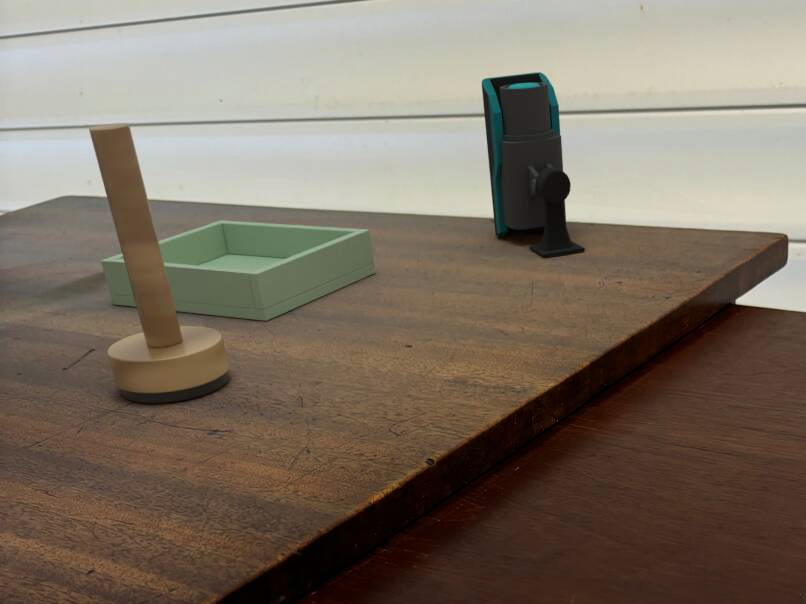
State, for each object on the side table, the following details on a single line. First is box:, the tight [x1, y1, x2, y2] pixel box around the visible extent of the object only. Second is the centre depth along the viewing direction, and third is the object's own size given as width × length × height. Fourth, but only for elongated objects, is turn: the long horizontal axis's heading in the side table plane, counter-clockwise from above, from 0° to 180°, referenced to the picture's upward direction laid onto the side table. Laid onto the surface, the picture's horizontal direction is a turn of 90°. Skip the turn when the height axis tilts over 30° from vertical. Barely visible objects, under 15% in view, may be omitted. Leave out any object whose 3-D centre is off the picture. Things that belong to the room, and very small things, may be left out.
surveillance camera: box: [481, 71, 586, 259], centre depth 96 cm, size 6×12×10 cm
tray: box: [100, 219, 376, 322], centre depth 92 cm, size 16×14×3 cm
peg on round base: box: [88, 122, 230, 404], centre depth 70 cm, size 7×7×15 cm
